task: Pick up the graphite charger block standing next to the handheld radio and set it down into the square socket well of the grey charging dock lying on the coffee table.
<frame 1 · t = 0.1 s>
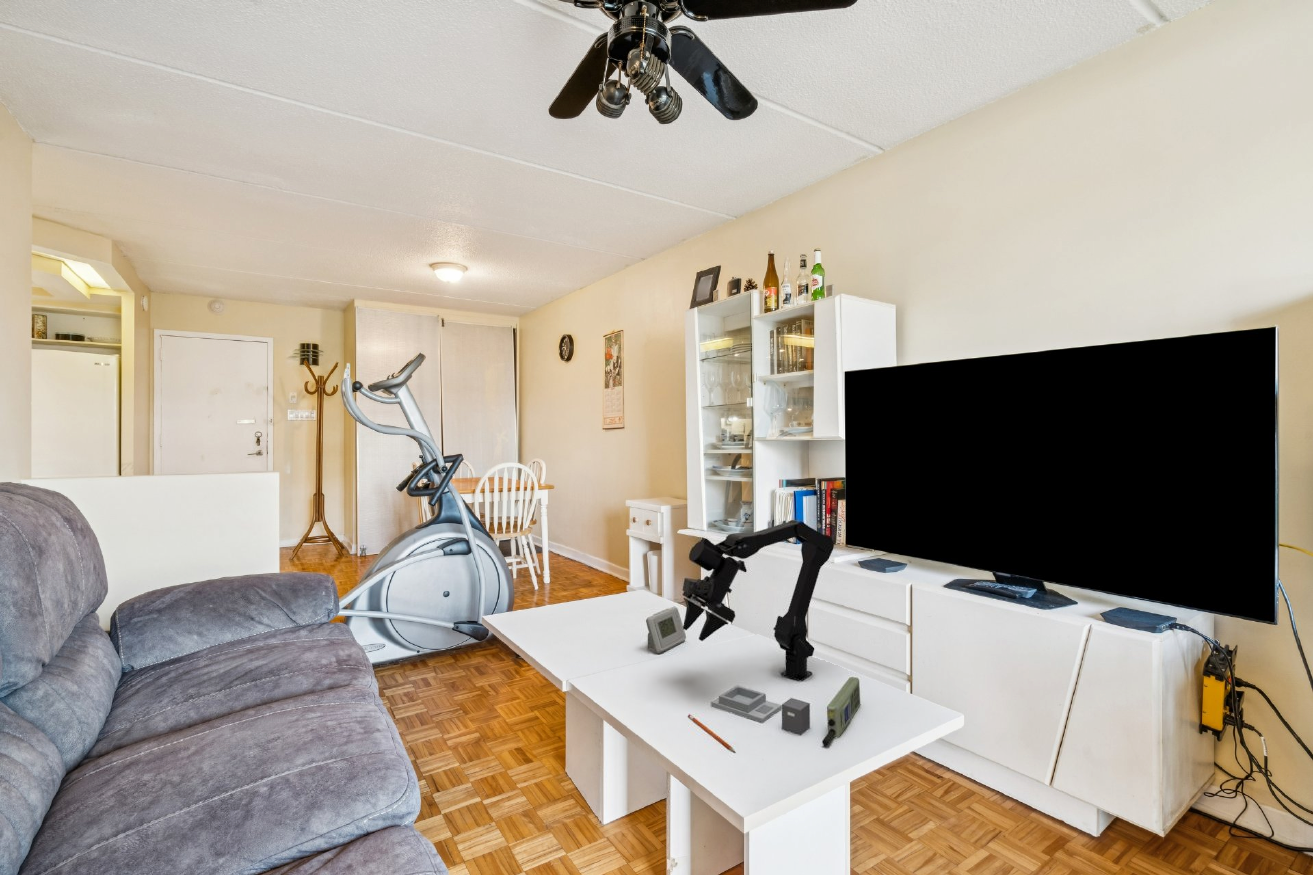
hand: (692, 634, 153), 15 cm above the table, tool tilted 30°, fingers open, 9 cm apart
handheld radio: (841, 725, 136), on the table
digital clock: (666, 647, 188), on the table
charger block: (795, 728, 134), on the table
grey charging dock: (746, 707, 145), on the table
pencil: (711, 736, 132), on the table
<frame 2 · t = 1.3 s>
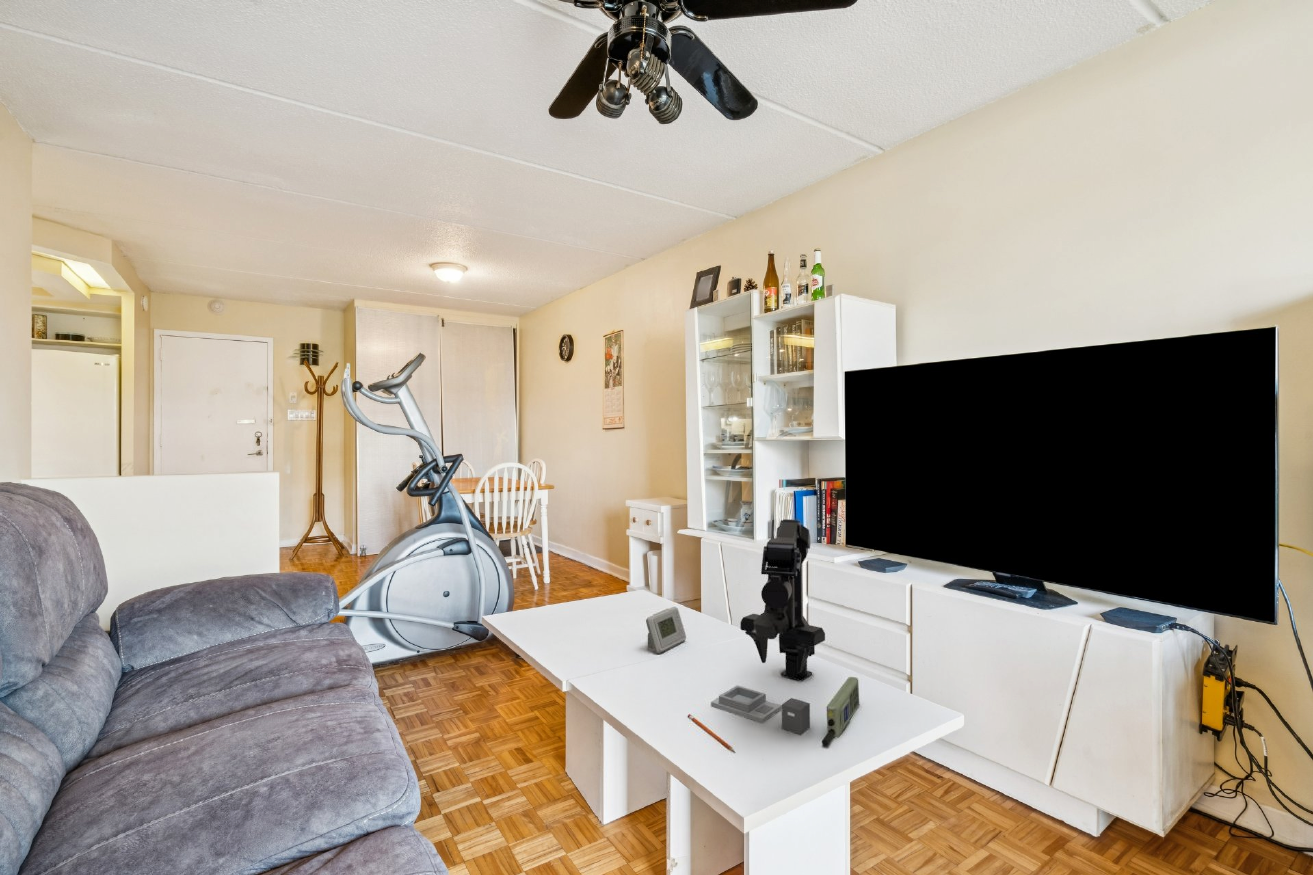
hand: (781, 667, 137), 13 cm above the table, tool pointing down, fingers open, 9 cm apart
nothing on the table moved.
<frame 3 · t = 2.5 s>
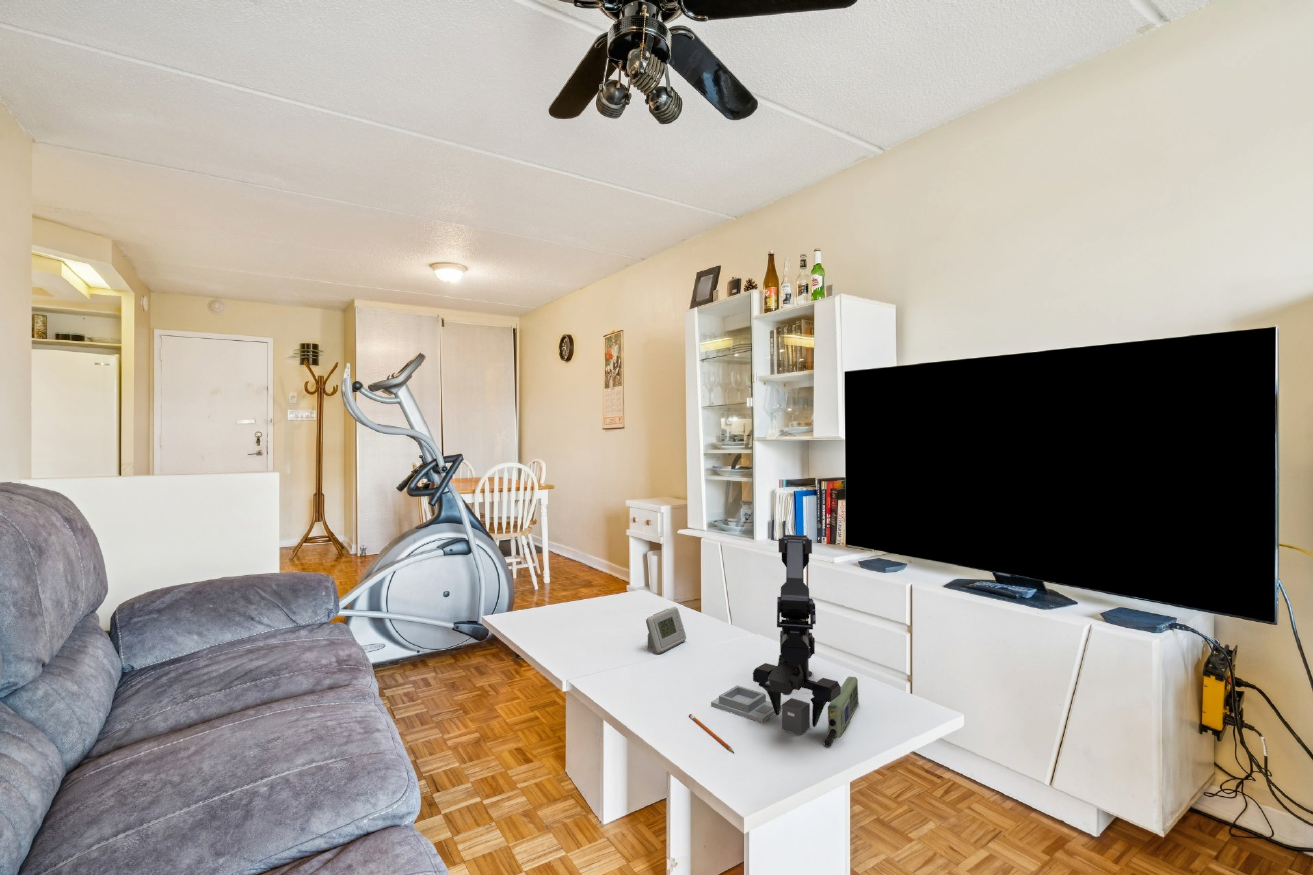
hand: (795, 720, 134), 2 cm above the table, tool pointing down, fingers open, 9 cm apart
handheld radio: (841, 725, 136), on the table, touching gripper
everything else where it was.
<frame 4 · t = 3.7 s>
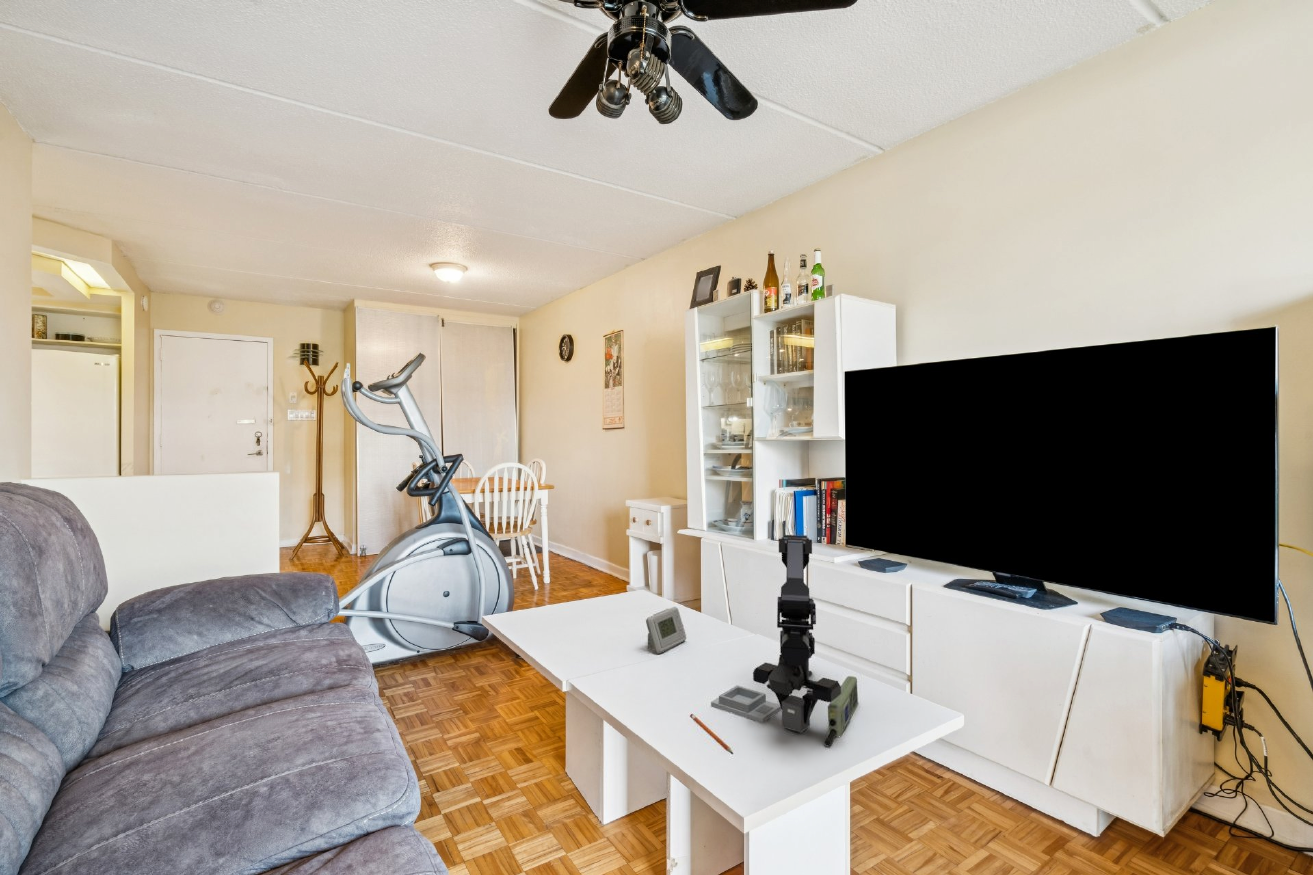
hand: (795, 719, 134), 2 cm above the table, tool pointing down, fingers closed on charger block, 4 cm apart
handheld radio: (841, 725, 136), on the table
charger block: (795, 725, 134), point 1 cm above the table, touching gripper
everything else where it was.
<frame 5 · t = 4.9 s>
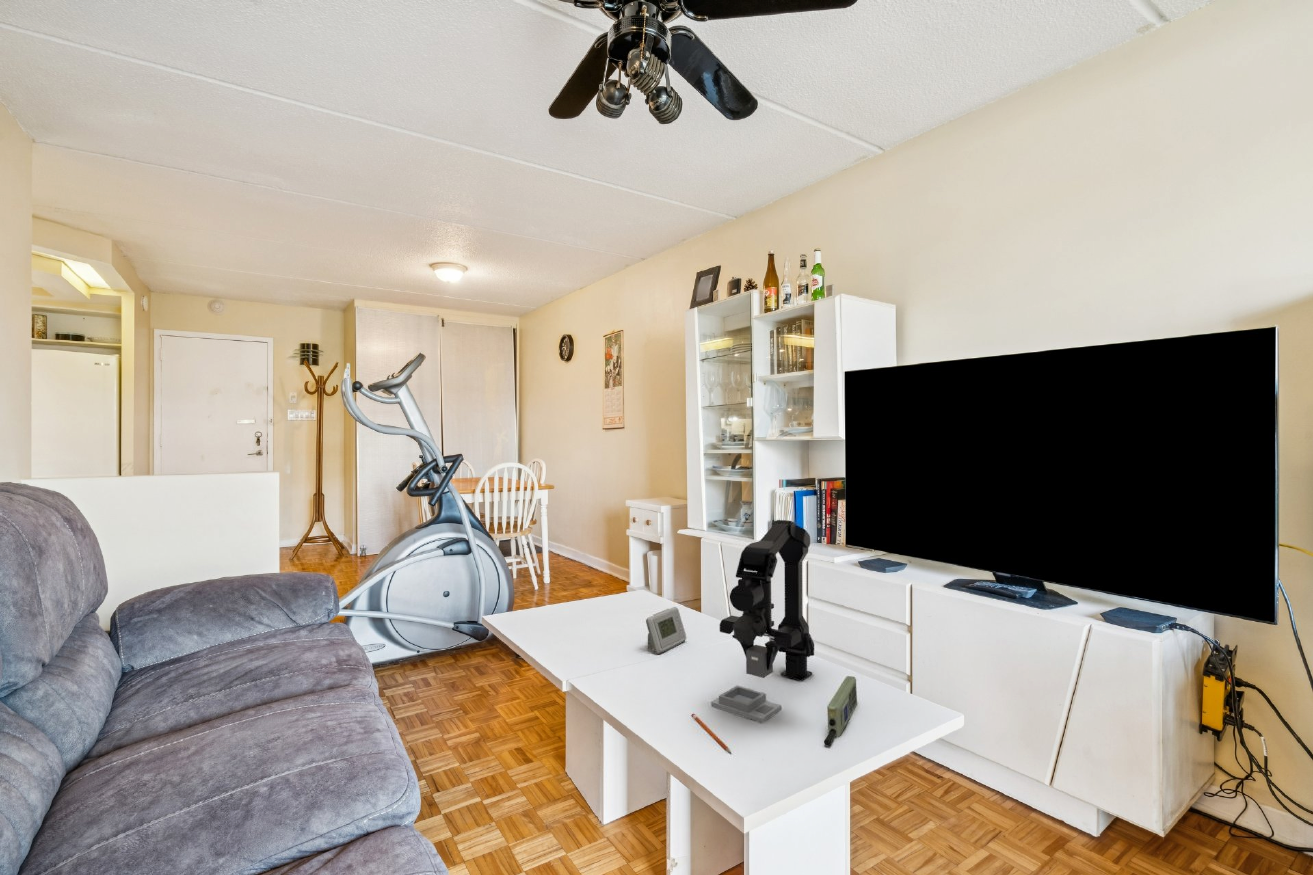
hand: (759, 667, 142), 11 cm above the table, tool pointing down, fingers closed on charger block, 4 cm apart
charger block: (759, 672, 142), point 9 cm above the table, touching gripper
everything else where it was.
when the fingers open (4 cm above the table, at t = 7.0 s): charger block drops 1 cm, resting on grey charging dock.
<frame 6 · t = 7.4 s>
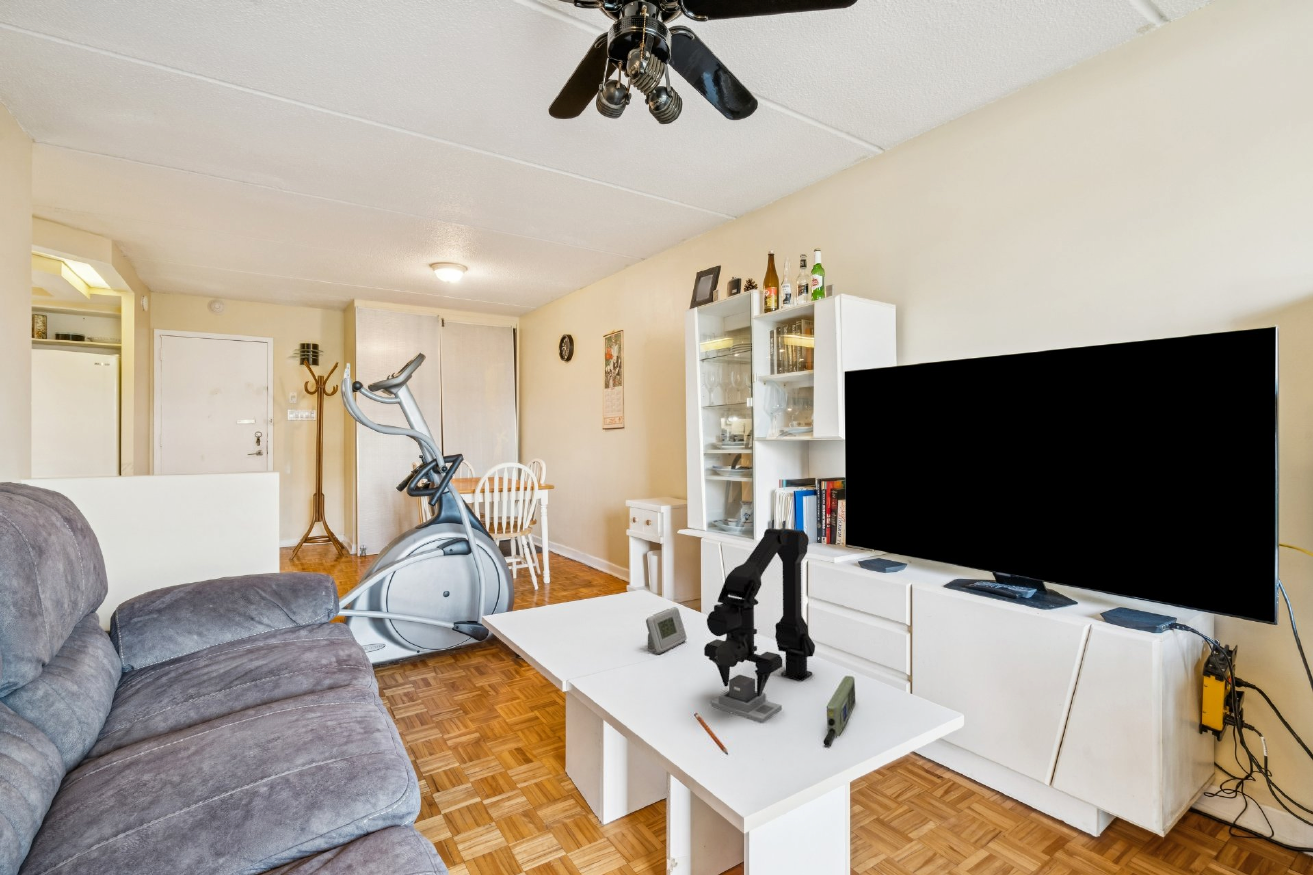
hand: (742, 690, 145), 4 cm above the table, tool pointing down, fingers open, 9 cm apart
charger block: (742, 702, 145), point 1 cm above the table, touching grey charging dock
everything else where it was.
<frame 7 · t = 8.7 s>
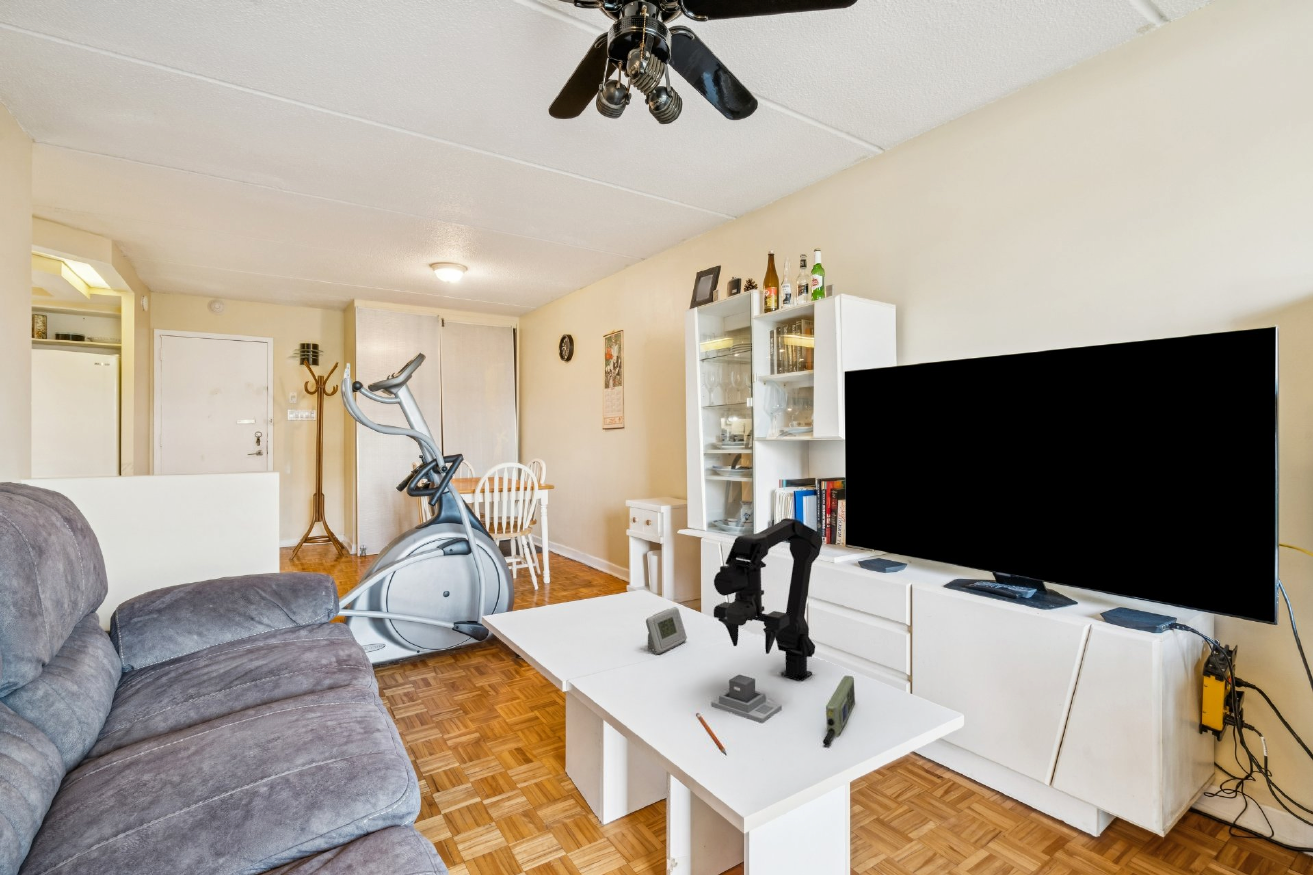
hand: (751, 649, 151), 12 cm above the table, tool pointing down, fingers open, 9 cm apart
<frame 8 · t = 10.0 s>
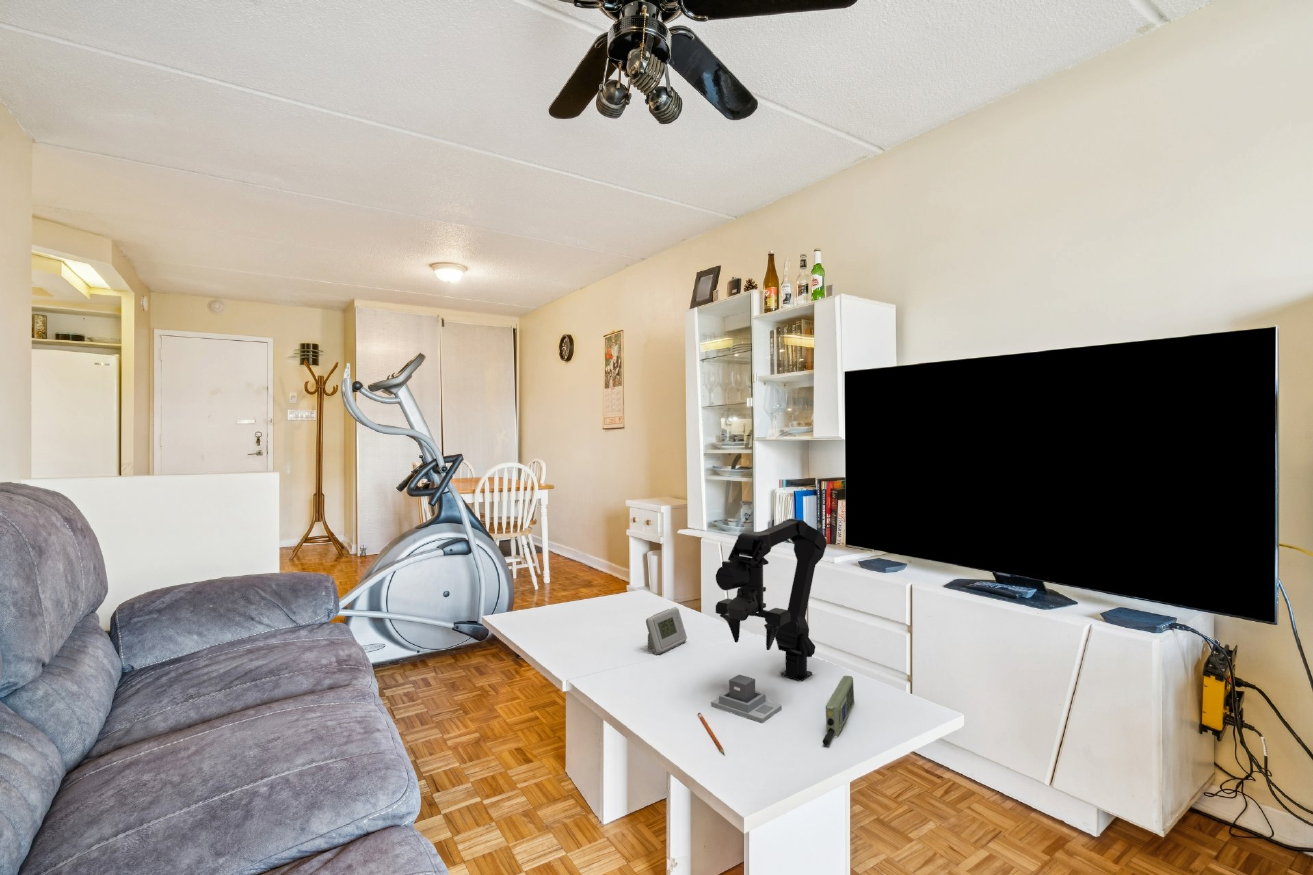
hand: (752, 645, 153), 12 cm above the table, tool pointing down, fingers open, 9 cm apart
at the end: charger block 0.0 cm from the target spot on the grey charging dock, point 1.0 cm above the grey charging dock's base; charger block tilted 0°; the gripper is holding nothing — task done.
